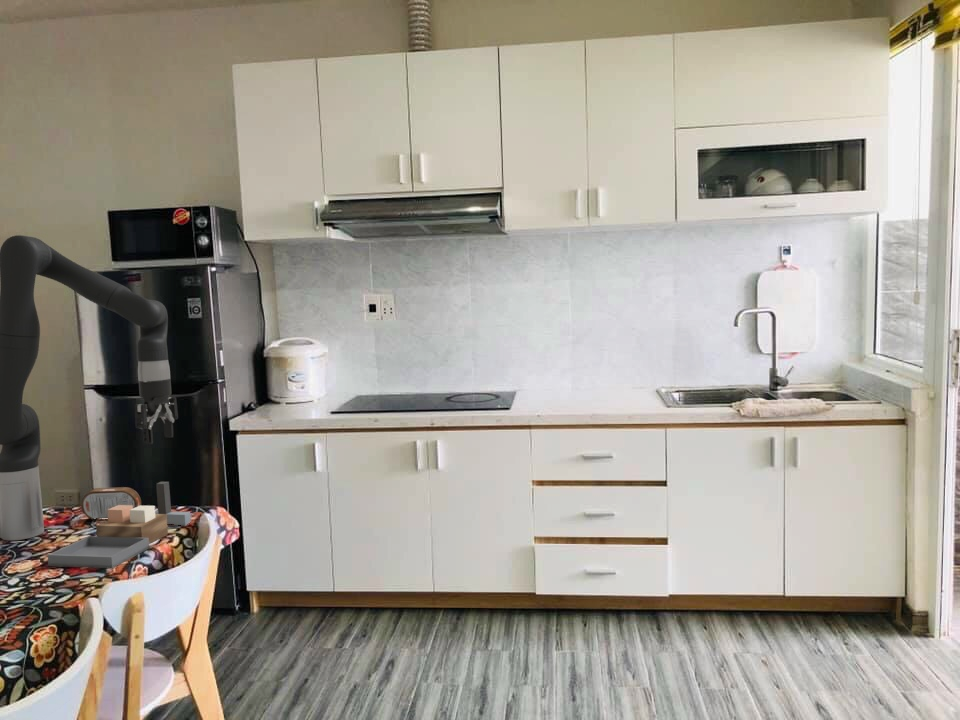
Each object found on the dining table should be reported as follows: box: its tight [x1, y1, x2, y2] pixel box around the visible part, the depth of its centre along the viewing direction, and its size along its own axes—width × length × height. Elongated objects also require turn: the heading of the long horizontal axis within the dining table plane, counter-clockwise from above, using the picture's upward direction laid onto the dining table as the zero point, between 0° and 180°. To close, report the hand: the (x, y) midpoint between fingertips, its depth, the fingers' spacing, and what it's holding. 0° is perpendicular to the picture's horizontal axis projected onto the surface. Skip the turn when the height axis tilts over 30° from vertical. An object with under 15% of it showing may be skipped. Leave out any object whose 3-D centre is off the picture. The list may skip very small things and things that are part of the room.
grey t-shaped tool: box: [155, 481, 192, 527], centre depth 194 cm, size 13×2×11 cm, turn 79°
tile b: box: [129, 504, 156, 523], centre depth 180 cm, size 4×4×3 cm
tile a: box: [107, 505, 133, 522], centre depth 181 cm, size 4×4×3 cm
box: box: [47, 535, 150, 569], centre depth 170 cm, size 16×13×2 cm
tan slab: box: [95, 514, 169, 545], centre depth 181 cm, size 12×10×5 cm
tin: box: [81, 486, 142, 520], centre depth 200 cm, size 15×3×8 cm, turn 92°
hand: (158, 440), depth 192 cm, fingers open, 8 cm apart
